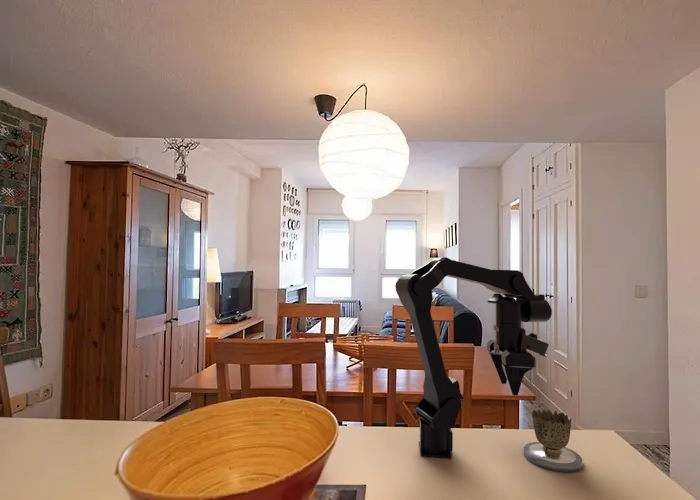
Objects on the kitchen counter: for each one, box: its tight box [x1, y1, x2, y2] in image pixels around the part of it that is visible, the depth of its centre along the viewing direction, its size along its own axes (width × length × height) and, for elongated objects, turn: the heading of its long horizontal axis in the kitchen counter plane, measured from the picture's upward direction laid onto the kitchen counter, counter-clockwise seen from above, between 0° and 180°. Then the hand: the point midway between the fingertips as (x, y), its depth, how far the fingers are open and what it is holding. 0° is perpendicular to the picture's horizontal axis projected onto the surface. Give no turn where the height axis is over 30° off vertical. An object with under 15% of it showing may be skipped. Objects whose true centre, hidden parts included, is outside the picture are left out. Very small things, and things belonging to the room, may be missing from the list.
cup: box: [531, 408, 572, 456], centre depth 81 cm, size 8×7×8 cm
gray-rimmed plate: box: [523, 441, 583, 474], centre depth 81 cm, size 11×11×1 cm
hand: (509, 389), depth 90 cm, fingers open, 9 cm apart
